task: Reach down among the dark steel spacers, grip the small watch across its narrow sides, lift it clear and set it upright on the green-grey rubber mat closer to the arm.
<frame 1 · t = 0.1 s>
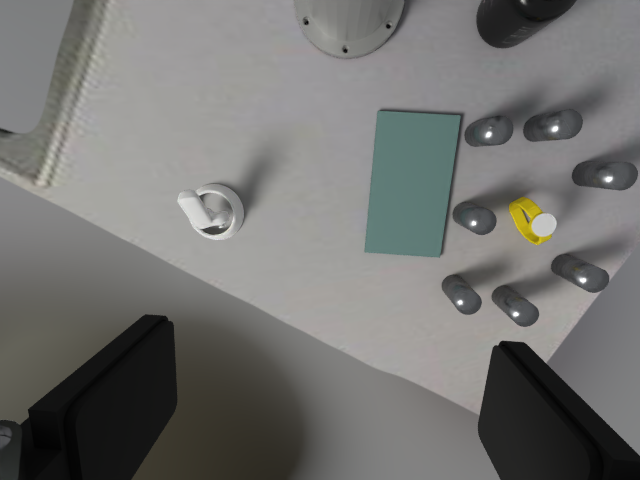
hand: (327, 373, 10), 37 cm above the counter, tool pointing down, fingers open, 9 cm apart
supplement bottle: (503, 17, 40), on the counter
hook: (216, 211, 47), on the counter
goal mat: (409, 187, 45), on the counter
watch: (517, 216, 45), on the counter
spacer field: (518, 217, 45), on the counter
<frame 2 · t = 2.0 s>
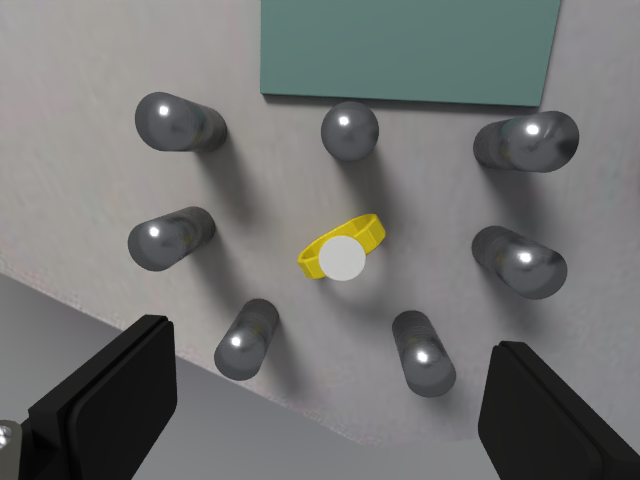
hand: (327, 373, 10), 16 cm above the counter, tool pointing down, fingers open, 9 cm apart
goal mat: (404, 16, 22), on the counter
watch: (341, 235, 26), on the counter
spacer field: (341, 236, 25), on the counter
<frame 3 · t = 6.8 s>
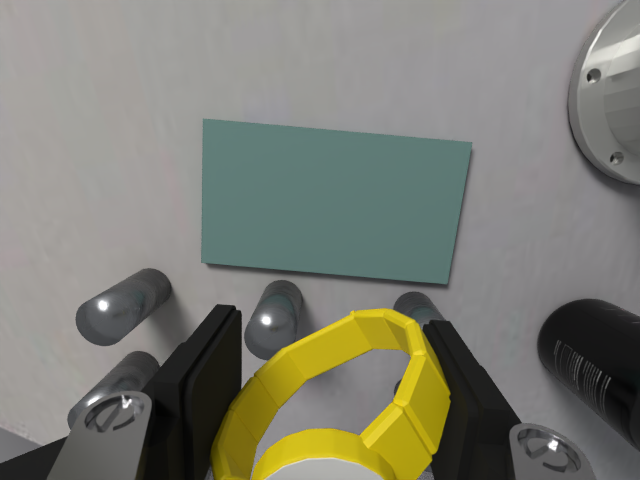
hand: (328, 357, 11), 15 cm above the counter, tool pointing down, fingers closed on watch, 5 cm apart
supplement bottle: (577, 335, 27), on the counter
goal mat: (330, 204, 25), on the counter
watch: (329, 342, 12), point 14 cm above the counter, touching gripper
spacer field: (276, 379, 28), on the counter
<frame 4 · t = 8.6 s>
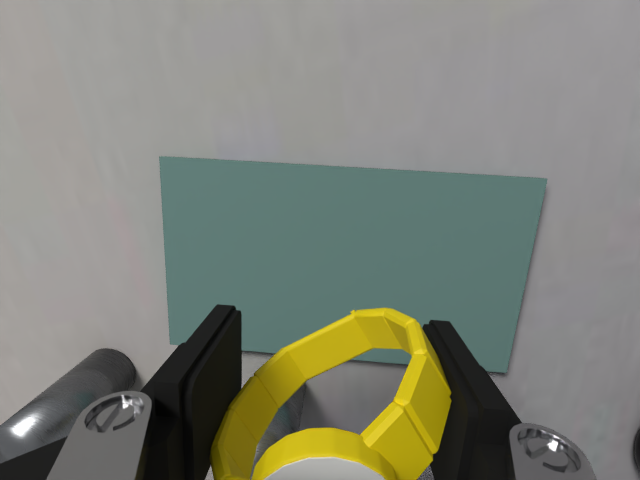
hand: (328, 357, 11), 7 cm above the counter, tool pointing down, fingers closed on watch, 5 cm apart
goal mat: (340, 265, 18), on the counter
watch: (329, 341, 12), point 6 cm above the counter, touching gripper
when the fingers open (3 cm above the counter, at t = 9.9 s): watch drops 1 cm, resting on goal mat.
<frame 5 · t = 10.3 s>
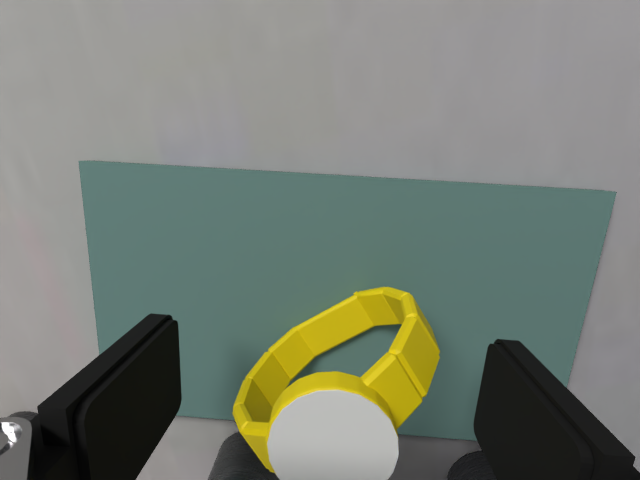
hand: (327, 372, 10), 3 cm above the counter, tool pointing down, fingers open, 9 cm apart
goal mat: (331, 306, 13), on the counter
watch: (335, 321, 13), resting on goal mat
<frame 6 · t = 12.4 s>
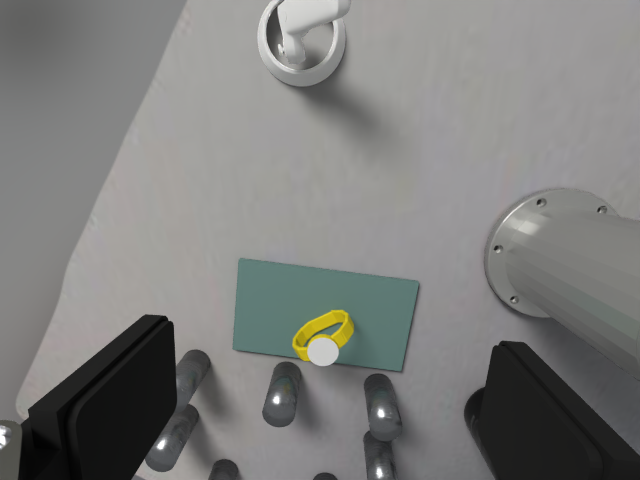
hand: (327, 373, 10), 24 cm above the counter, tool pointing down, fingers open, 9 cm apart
supplement bottle: (493, 407, 38), on the counter
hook: (302, 40, 30), on the counter
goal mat: (322, 314, 36), on the counter
watch: (323, 320, 35), resting on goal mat
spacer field: (280, 427, 39), on the counter
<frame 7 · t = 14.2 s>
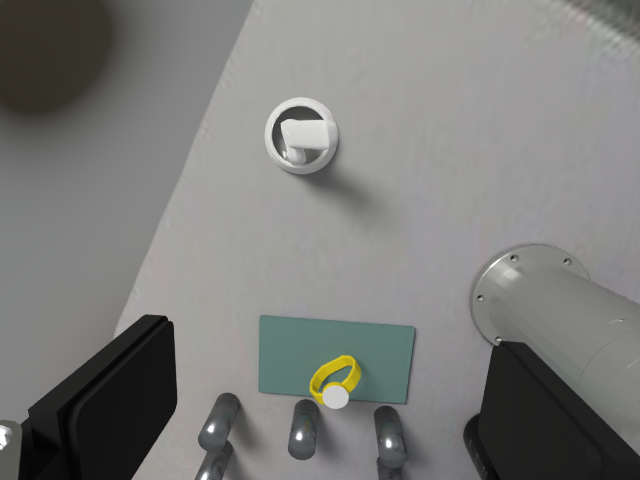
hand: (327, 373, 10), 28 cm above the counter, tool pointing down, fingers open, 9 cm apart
supplement bottle: (489, 430, 43), on the counter
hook: (301, 137, 36), on the counter
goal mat: (333, 358, 42), on the counter
watch: (335, 363, 41), resting on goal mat
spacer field: (304, 455, 45), on the counter
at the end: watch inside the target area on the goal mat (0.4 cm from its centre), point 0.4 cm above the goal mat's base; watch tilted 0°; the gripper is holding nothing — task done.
